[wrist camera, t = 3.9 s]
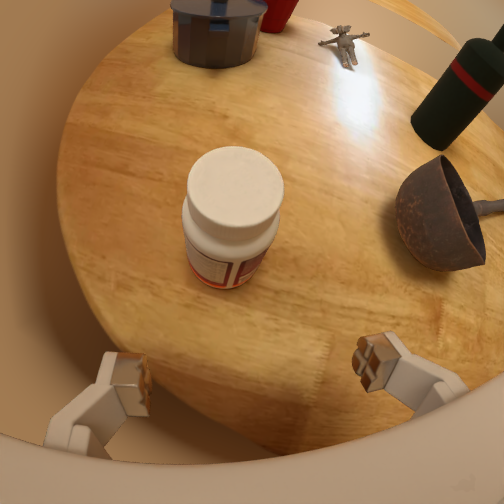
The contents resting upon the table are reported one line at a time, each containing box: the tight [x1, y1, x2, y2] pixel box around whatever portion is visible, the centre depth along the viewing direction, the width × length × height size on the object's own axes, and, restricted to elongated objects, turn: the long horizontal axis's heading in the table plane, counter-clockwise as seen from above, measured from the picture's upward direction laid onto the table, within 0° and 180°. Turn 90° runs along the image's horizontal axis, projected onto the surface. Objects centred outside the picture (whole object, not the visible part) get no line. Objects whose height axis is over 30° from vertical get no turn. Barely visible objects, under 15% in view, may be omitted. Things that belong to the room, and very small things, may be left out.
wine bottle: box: [411, 24, 504, 151], centre depth 24 cm, size 8×10×30 cm
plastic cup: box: [260, 0, 299, 33], centre depth 37 cm, size 11×11×12 cm
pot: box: [173, 11, 264, 68], centre depth 33 cm, size 13×18×8 cm
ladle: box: [395, 155, 504, 271], centre depth 31 cm, size 12×38×10 cm, turn 107°
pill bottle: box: [182, 146, 284, 289], centre depth 20 cm, size 6×6×11 cm
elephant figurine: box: [318, 26, 370, 67], centre depth 39 cm, size 10×6×9 cm
